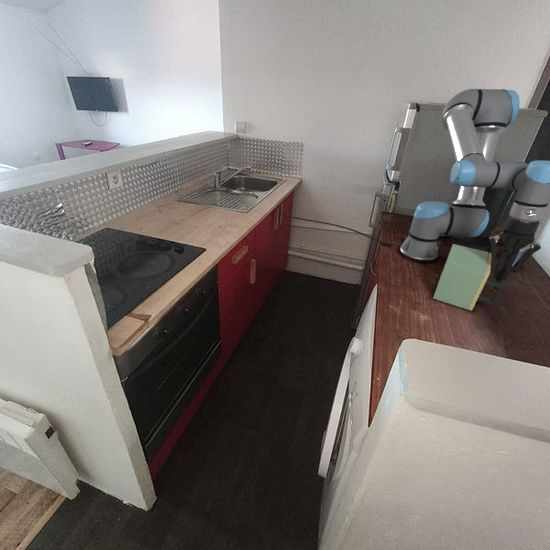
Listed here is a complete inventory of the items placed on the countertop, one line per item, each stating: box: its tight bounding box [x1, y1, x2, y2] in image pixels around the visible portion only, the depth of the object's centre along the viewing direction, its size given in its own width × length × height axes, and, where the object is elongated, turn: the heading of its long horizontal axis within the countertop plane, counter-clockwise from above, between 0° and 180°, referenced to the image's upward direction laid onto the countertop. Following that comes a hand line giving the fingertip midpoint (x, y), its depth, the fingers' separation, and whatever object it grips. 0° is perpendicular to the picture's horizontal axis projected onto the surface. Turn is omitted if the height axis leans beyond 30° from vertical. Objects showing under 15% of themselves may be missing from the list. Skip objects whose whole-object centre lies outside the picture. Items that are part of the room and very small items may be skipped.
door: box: [468, 252, 506, 311], centre depth 98 cm, size 6×16×15 cm, turn 145°
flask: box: [512, 245, 529, 266], centre depth 121 cm, size 9×3×11 cm, turn 121°
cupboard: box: [432, 243, 489, 311], centre depth 102 cm, size 11×16×15 cm
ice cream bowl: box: [489, 221, 506, 256], centre depth 131 cm, size 11×11×15 cm
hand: (495, 287), depth 96 cm, fingers closed
